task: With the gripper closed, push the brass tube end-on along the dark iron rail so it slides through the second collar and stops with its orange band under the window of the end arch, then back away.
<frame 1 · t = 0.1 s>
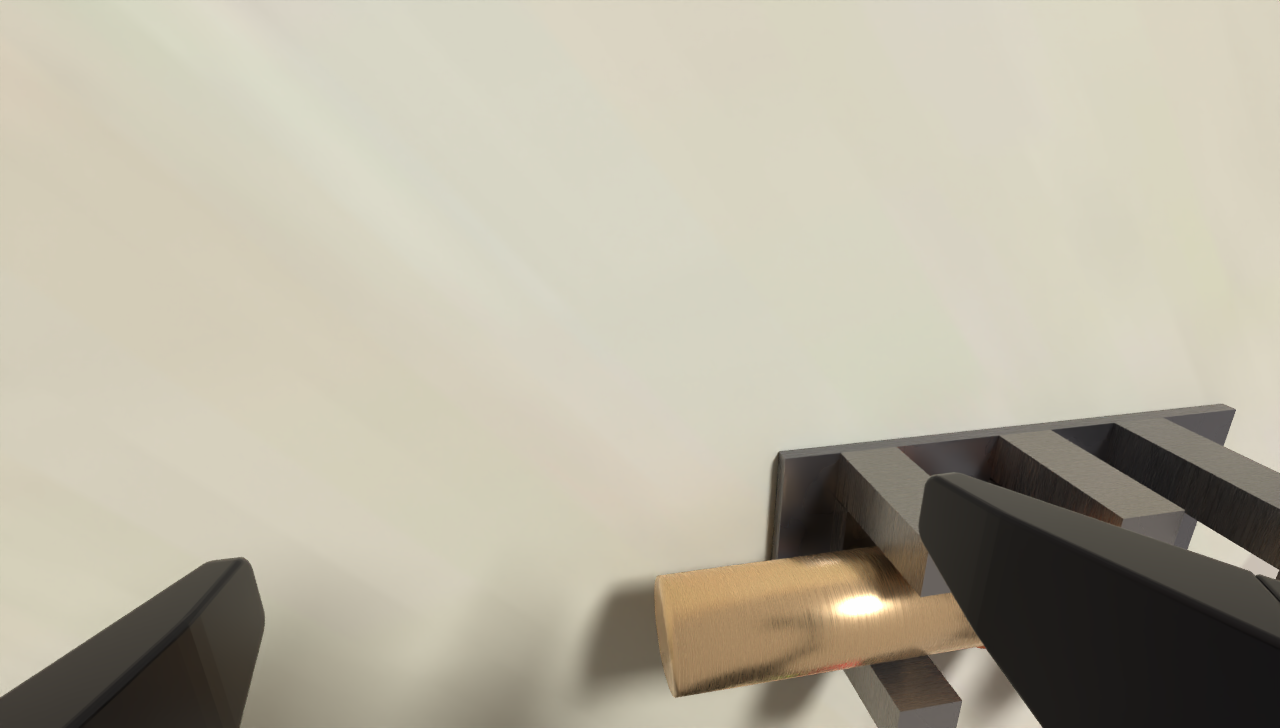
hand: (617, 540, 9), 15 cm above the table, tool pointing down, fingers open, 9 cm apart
tube: (850, 606, 25), point 4 cm above the table, slide at 0.0 cm
firebox rail: (995, 516, 30), on the table
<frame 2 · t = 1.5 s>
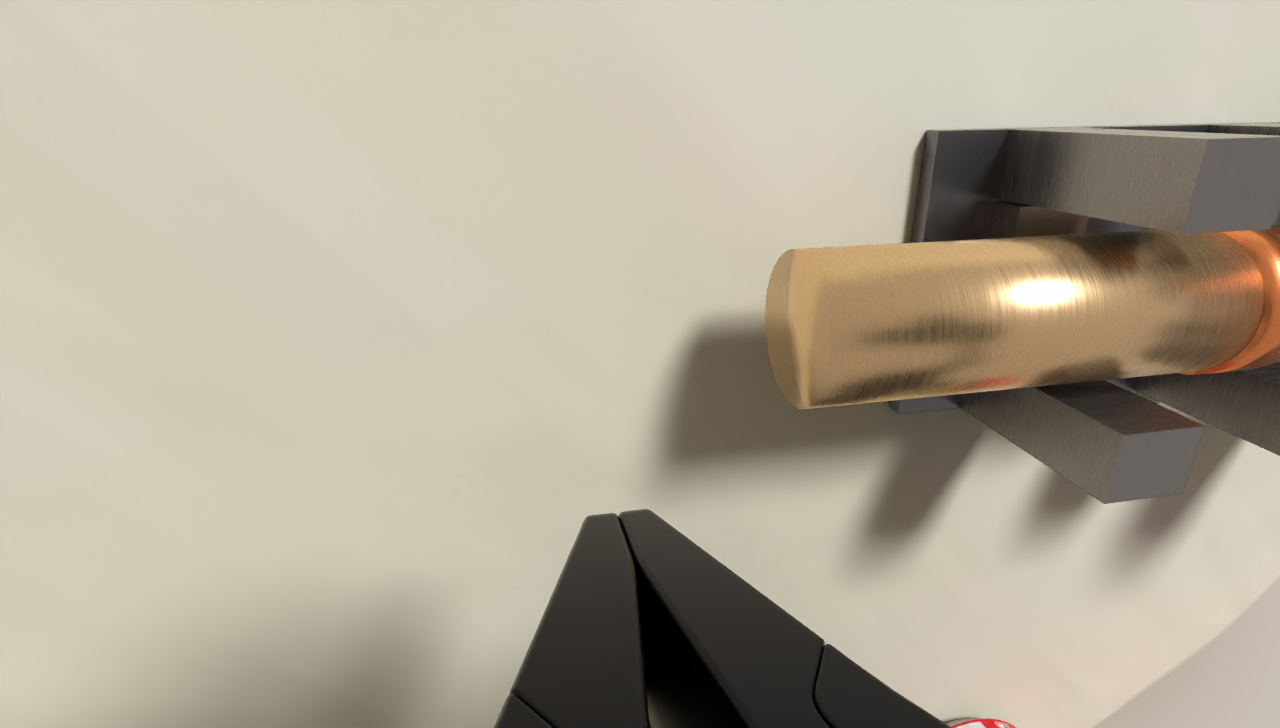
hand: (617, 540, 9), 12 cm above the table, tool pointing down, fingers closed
tube: (1039, 311, 18), point 4 cm above the table, slide at 0.0 cm
firebox rail: (1183, 261, 23), on the table
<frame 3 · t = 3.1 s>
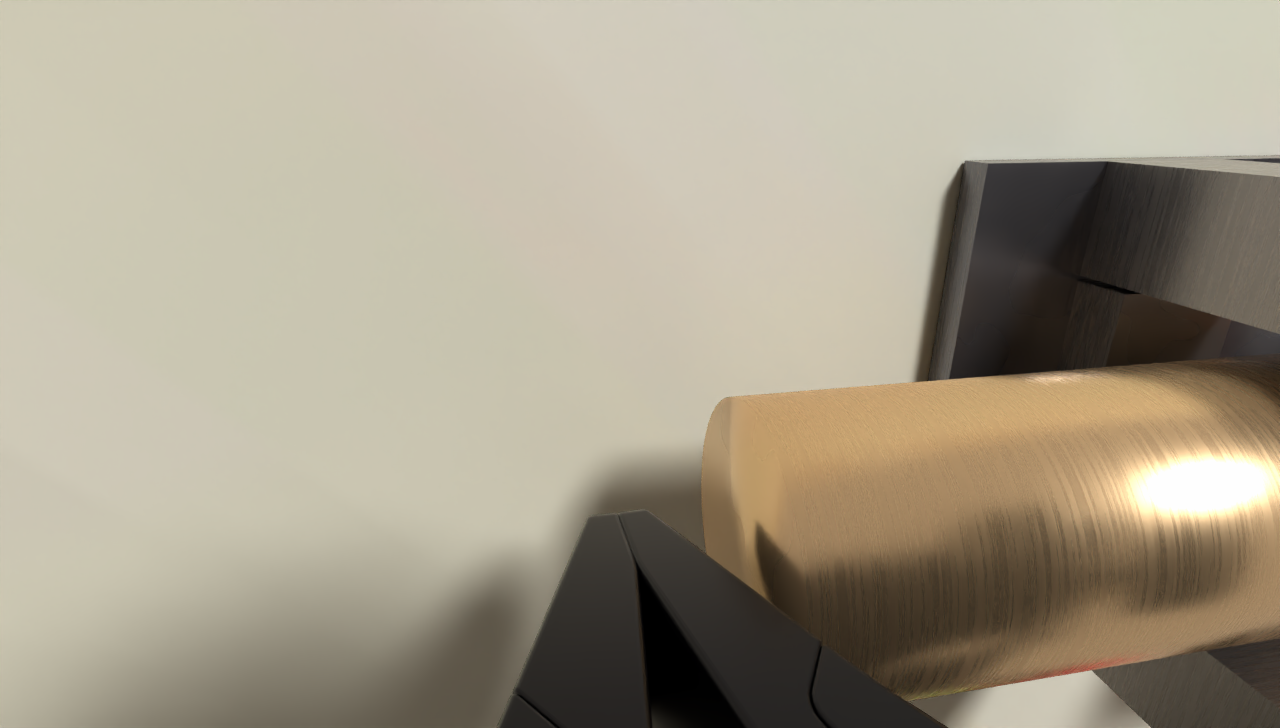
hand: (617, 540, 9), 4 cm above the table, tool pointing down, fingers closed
tube: (1194, 495, 10), point 4 cm above the table, slide at 0.4 cm, touching gripper
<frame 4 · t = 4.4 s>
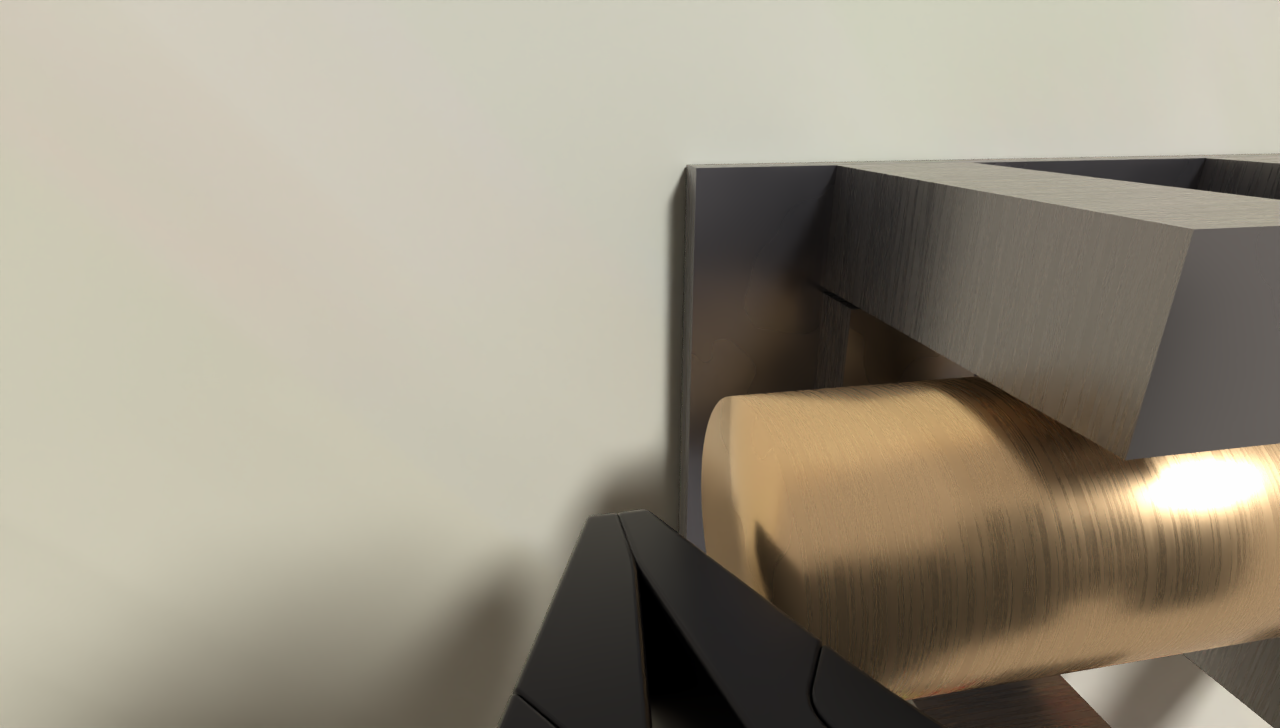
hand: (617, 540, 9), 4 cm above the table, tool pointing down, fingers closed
tube: (1194, 494, 10), point 4 cm above the table, slide at 5.3 cm, touching gripper
firebox rail: (1161, 375, 14), on the table
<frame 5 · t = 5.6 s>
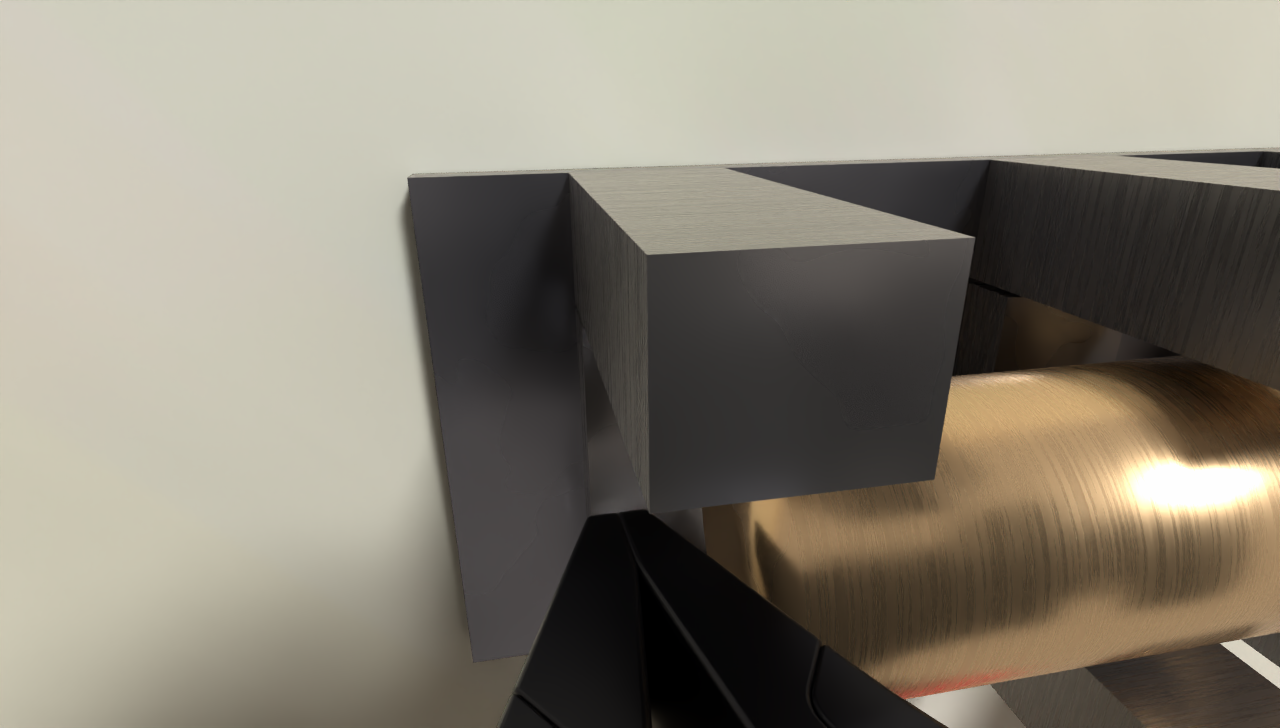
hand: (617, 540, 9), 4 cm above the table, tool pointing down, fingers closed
tube: (1194, 489, 10), point 4 cm above the table, slide at 9.5 cm, touching gripper
firebox rail: (984, 388, 13), on the table
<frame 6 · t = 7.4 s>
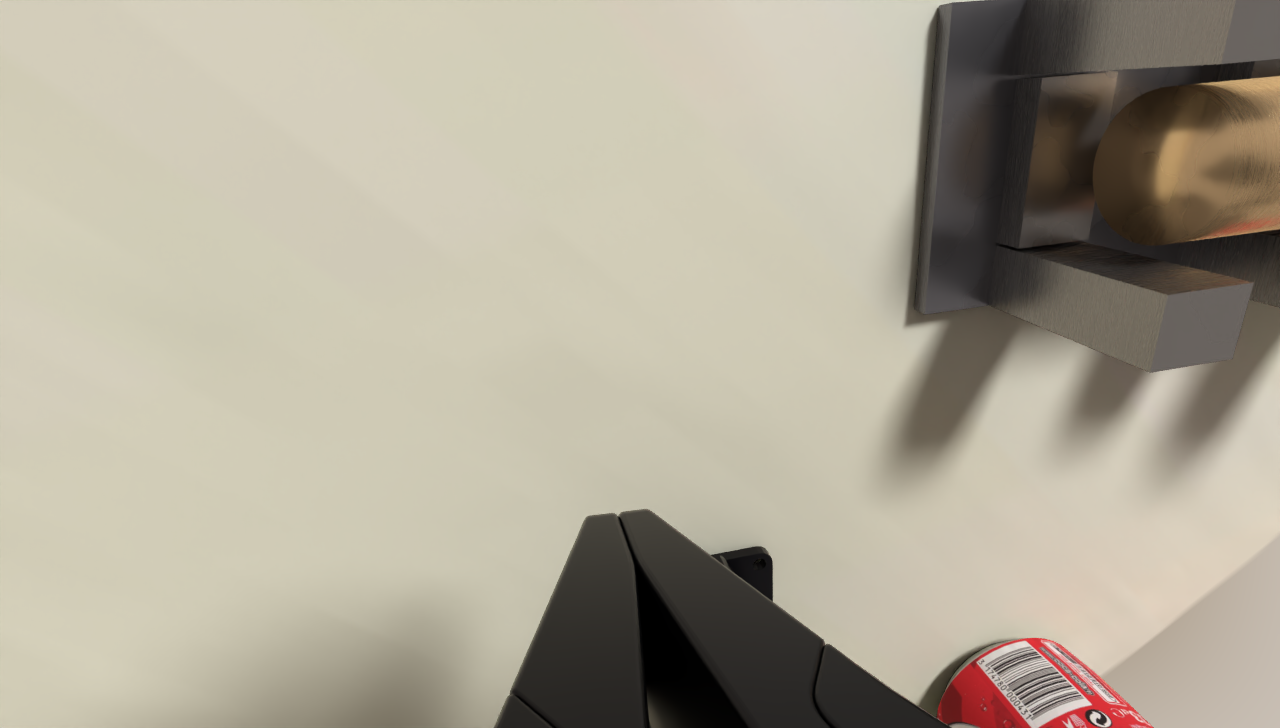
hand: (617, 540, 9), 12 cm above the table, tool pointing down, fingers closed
soda can: (991, 680, 30), on the table
firebox rail: (1216, 138, 22), on the table
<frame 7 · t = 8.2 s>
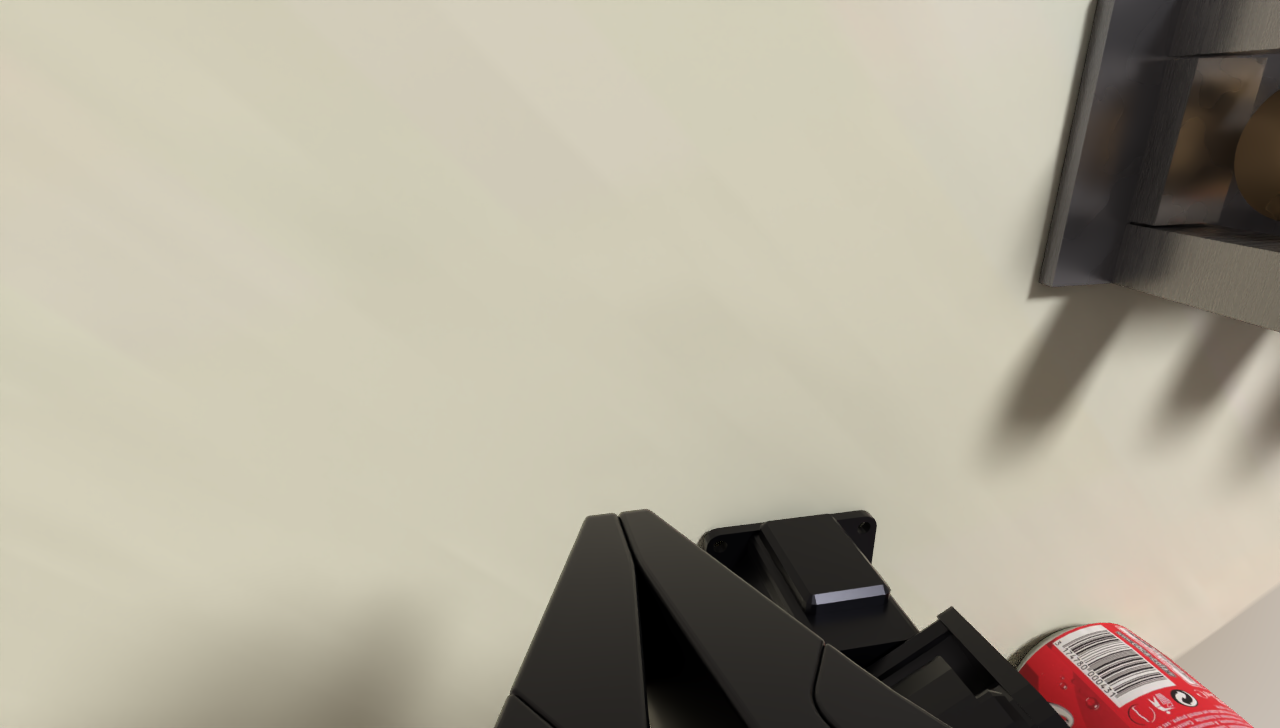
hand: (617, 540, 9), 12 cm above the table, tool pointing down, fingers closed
soda can: (1057, 665, 31), on the table
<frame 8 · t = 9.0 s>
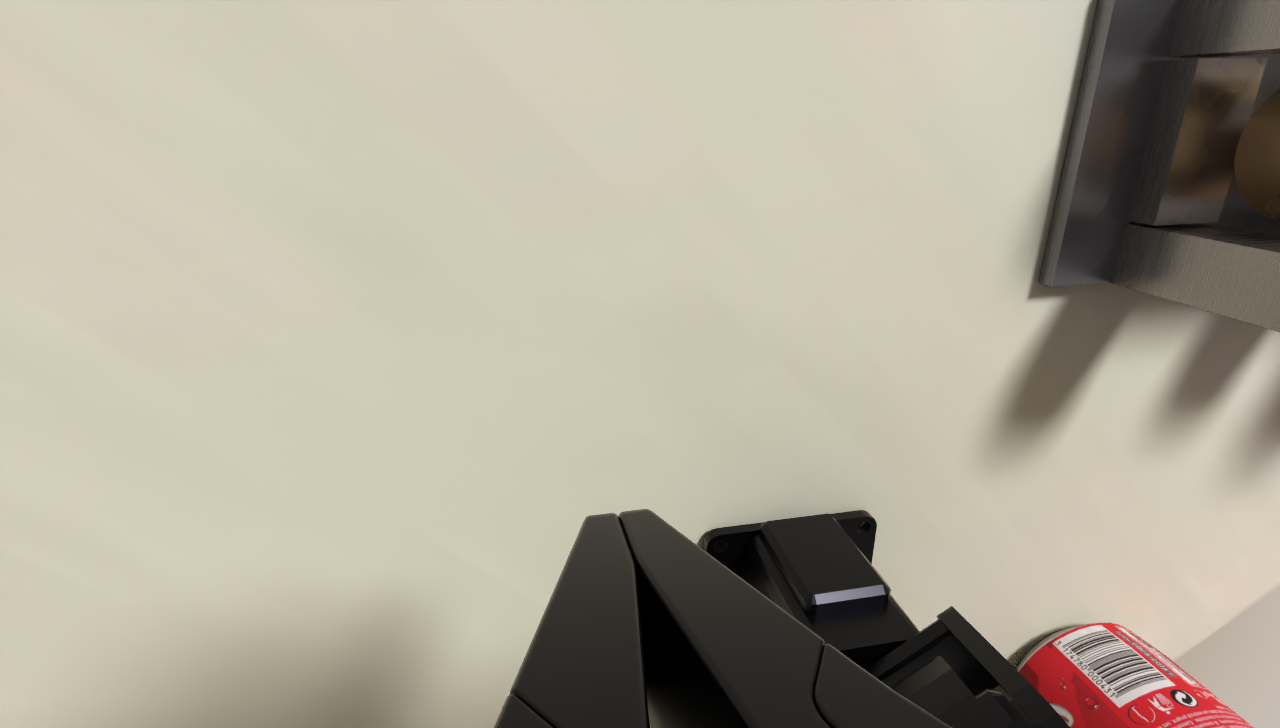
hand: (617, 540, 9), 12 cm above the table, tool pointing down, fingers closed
soda can: (1057, 665, 31), on the table
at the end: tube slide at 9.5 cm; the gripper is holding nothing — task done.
